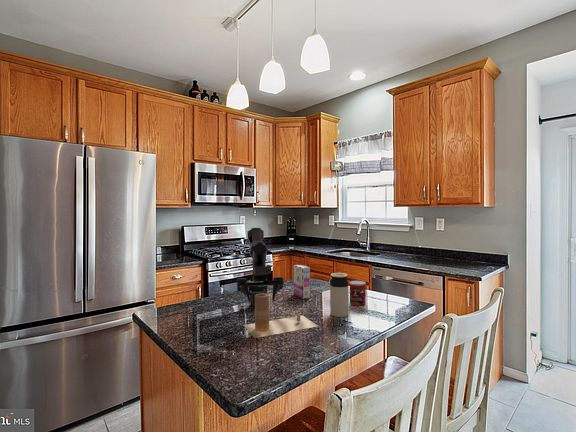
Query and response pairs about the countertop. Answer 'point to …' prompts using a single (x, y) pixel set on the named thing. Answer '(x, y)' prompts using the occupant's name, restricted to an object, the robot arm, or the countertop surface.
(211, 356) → the countertop surface
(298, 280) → the candy bar box
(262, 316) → the sleeve
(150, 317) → the countertop surface
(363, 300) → the canned food
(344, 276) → the travel mug
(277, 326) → the pin board
